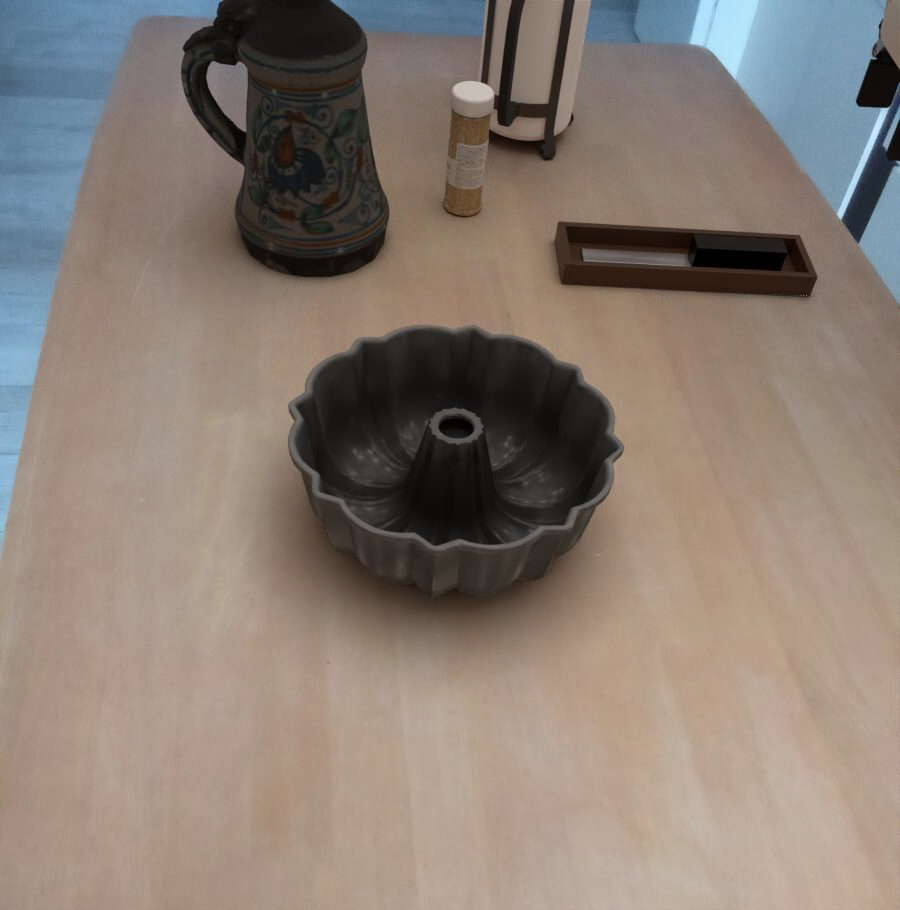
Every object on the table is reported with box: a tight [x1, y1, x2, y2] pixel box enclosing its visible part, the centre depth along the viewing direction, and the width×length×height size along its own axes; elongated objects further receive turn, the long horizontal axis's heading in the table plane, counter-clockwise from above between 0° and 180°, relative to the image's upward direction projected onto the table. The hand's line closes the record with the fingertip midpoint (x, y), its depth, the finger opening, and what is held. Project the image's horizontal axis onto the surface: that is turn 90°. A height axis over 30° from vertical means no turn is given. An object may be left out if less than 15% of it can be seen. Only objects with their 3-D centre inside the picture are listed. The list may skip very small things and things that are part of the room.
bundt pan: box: [287, 324, 625, 599], centre depth 84 cm, size 26×26×10 cm
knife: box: [581, 234, 787, 271], centre depth 112 cm, size 22×3×3 cm, turn 92°
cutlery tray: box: [554, 220, 819, 297], centre depth 112 cm, size 28×8×2 cm, turn 92°
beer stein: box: [180, 0, 390, 278], centre depth 101 cm, size 16×19×25 cm
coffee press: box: [477, 0, 592, 160], centre depth 117 cm, size 17×16×30 cm
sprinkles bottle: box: [442, 80, 494, 217], centre depth 112 cm, size 5×5×14 cm
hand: (887, 131), depth 91 cm, fingers open, 9 cm apart
